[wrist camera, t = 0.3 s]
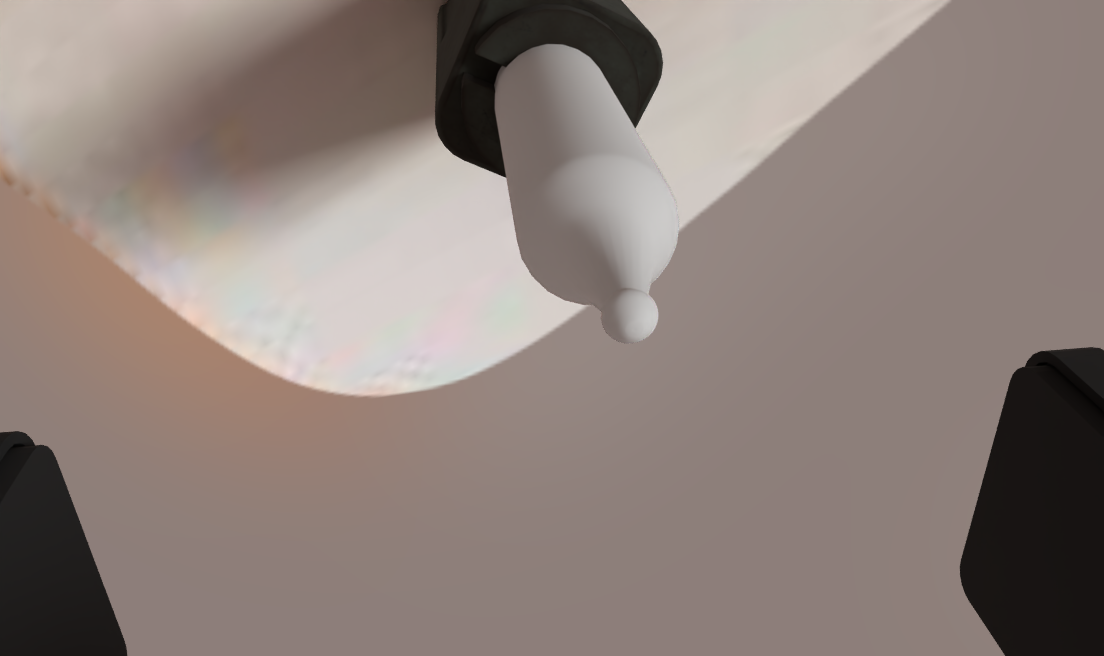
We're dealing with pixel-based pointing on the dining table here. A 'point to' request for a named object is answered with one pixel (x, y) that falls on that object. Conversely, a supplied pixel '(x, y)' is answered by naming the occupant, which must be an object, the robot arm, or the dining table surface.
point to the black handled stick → (564, 143)
